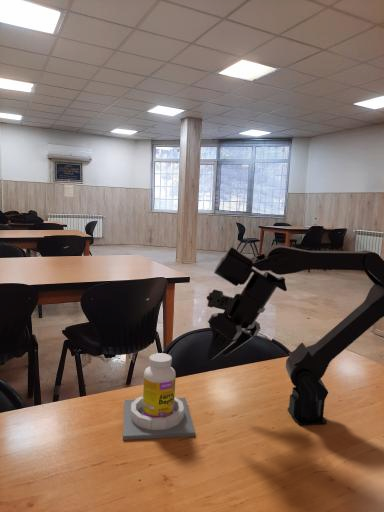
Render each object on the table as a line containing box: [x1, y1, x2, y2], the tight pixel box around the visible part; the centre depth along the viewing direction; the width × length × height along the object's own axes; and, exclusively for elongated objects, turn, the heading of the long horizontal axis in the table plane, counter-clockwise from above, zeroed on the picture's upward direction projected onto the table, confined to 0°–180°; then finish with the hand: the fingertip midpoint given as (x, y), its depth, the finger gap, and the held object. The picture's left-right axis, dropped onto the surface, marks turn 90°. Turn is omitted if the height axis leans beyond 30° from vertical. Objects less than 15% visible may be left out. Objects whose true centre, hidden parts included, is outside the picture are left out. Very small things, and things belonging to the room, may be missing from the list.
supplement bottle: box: [142, 352, 176, 418], centre depth 80 cm, size 7×7×13 cm
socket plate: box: [122, 395, 196, 441], centre depth 81 cm, size 14×14×3 cm
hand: (216, 356), depth 84 cm, fingers open, 9 cm apart
